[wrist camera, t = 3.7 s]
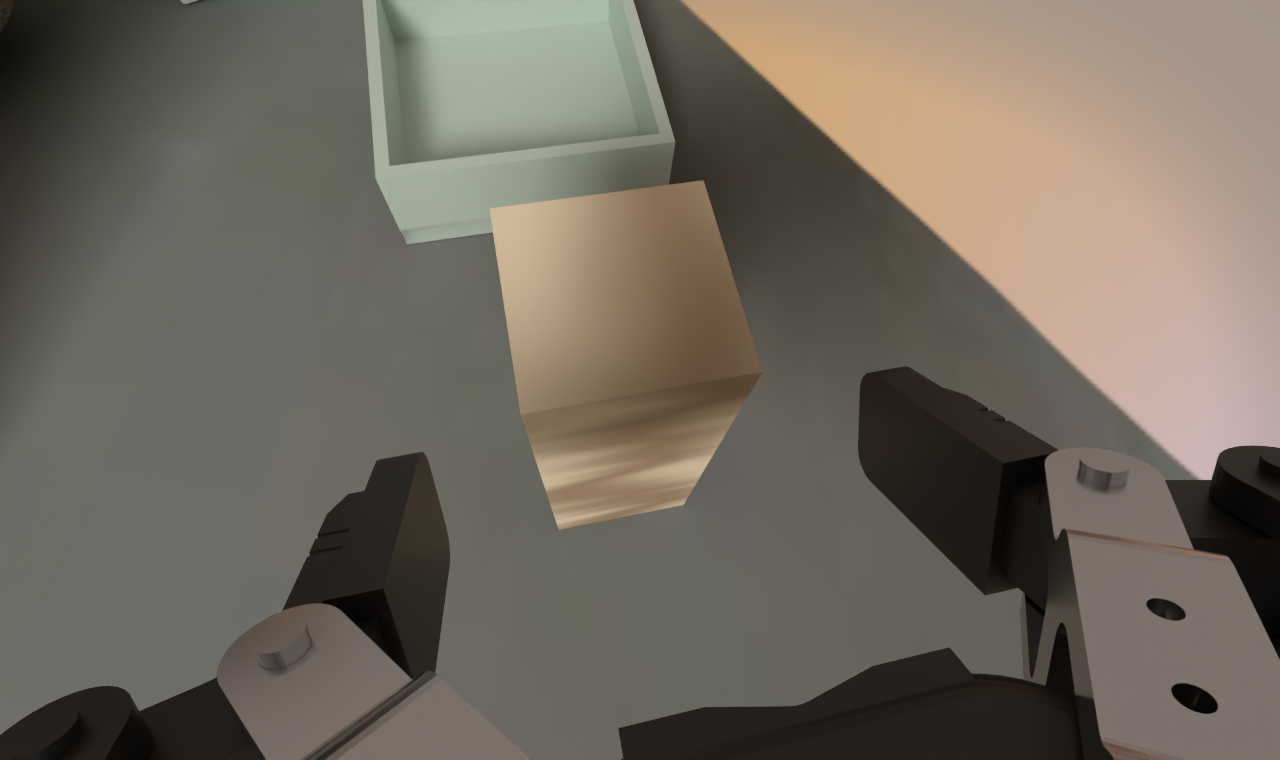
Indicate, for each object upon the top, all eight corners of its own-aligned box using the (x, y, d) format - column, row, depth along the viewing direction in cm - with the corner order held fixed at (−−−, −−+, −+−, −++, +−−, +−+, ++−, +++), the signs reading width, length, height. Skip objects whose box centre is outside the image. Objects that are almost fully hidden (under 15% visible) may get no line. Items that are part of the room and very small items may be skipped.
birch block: (559, 530, 22) (520, 414, 11) (539, 410, 24) (489, 208, 13) (683, 504, 23) (762, 371, 12) (656, 390, 25) (703, 180, 14)
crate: (406, 244, 26) (375, 178, 23) (389, 52, 30) (360, -30, 27) (665, 208, 28) (675, 141, 24) (616, 30, 32) (618, -50, 28)
